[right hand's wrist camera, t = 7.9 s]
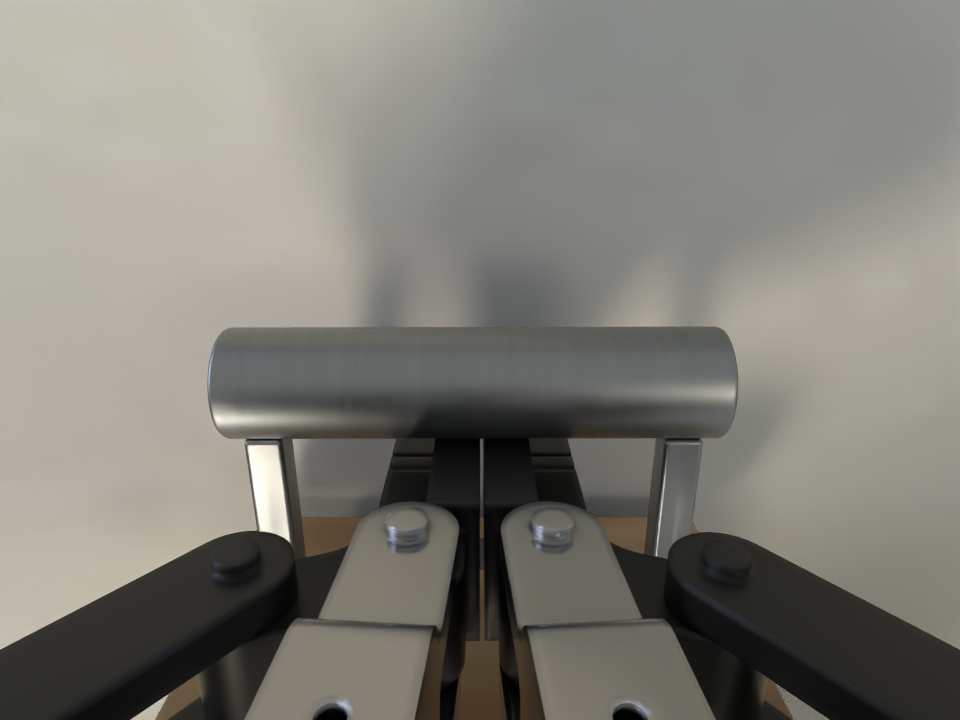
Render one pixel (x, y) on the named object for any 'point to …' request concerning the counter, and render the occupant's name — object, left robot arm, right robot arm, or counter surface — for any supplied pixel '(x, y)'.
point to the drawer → (471, 421)
